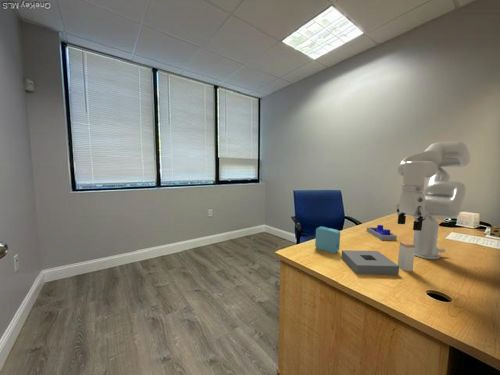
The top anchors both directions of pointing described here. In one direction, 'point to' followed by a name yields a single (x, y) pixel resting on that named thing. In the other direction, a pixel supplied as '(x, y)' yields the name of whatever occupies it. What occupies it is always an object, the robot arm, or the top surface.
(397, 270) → the socket plate
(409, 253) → the plug
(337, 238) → the data package
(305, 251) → the top surface
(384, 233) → the cable clip
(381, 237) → the desk tray
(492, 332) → the top surface
